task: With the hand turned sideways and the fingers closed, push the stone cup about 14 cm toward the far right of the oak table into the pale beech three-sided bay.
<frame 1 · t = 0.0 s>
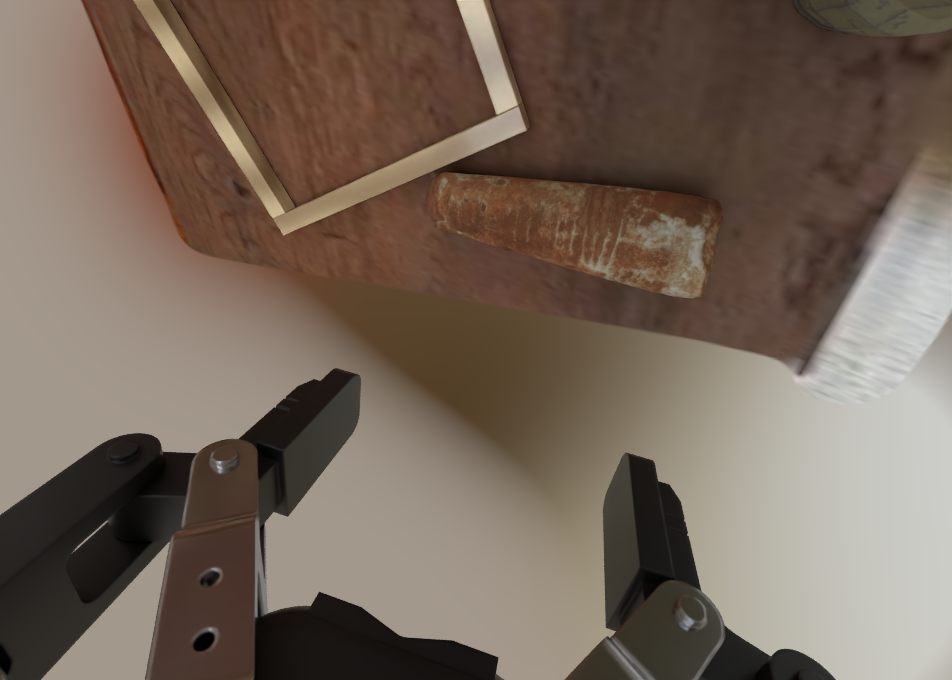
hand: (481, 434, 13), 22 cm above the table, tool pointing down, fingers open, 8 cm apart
rusty brown cylinder: (562, 219, 31), on the table
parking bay: (315, 21, 28), on the table
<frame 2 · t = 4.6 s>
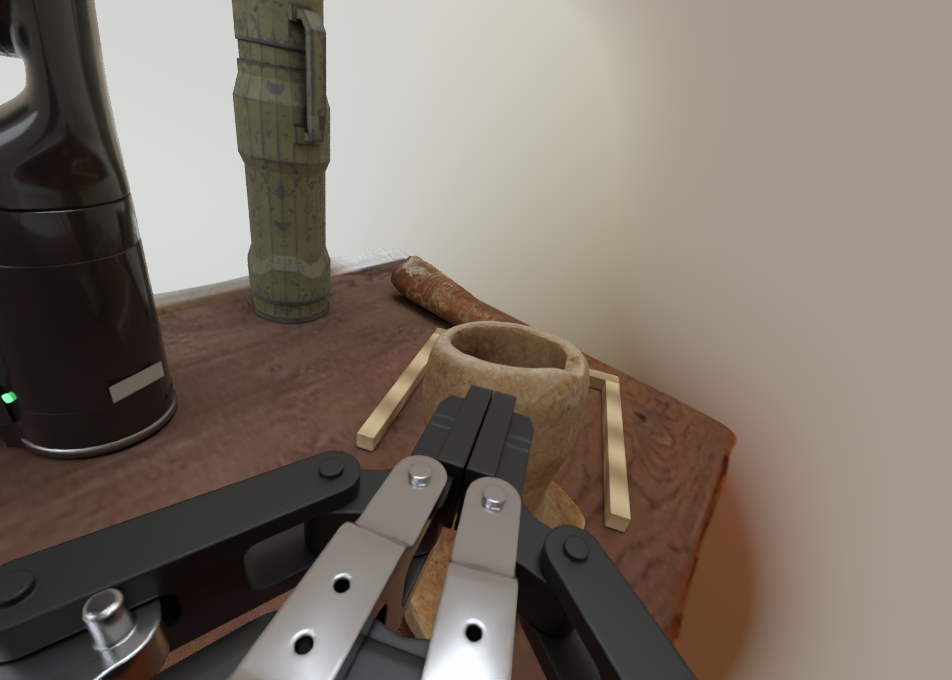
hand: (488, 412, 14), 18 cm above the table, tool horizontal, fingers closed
rusty brown cylinder: (450, 318, 59), on the table
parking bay: (506, 416, 42), on the table
thermos: (292, 308, 54), on the table
stone cup: (469, 536, 30), on the table
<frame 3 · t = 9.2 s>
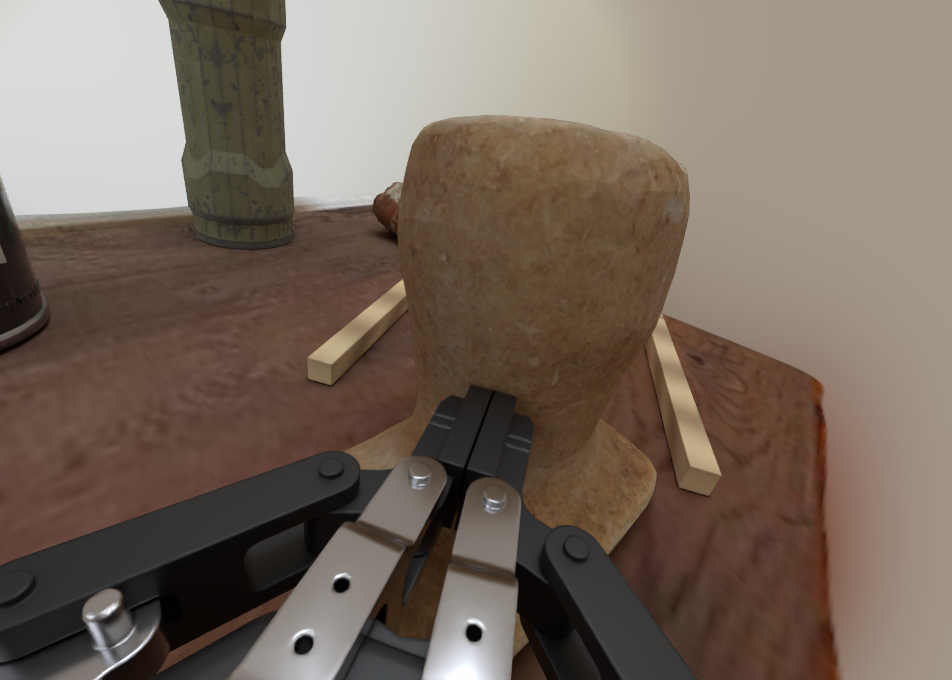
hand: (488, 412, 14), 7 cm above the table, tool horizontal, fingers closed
rusty brown cylinder: (446, 255, 48), on the table
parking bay: (521, 351, 31), on the table
thermos: (246, 236, 43), on the table
stone cup: (476, 493, 19), on the table, touching gripper
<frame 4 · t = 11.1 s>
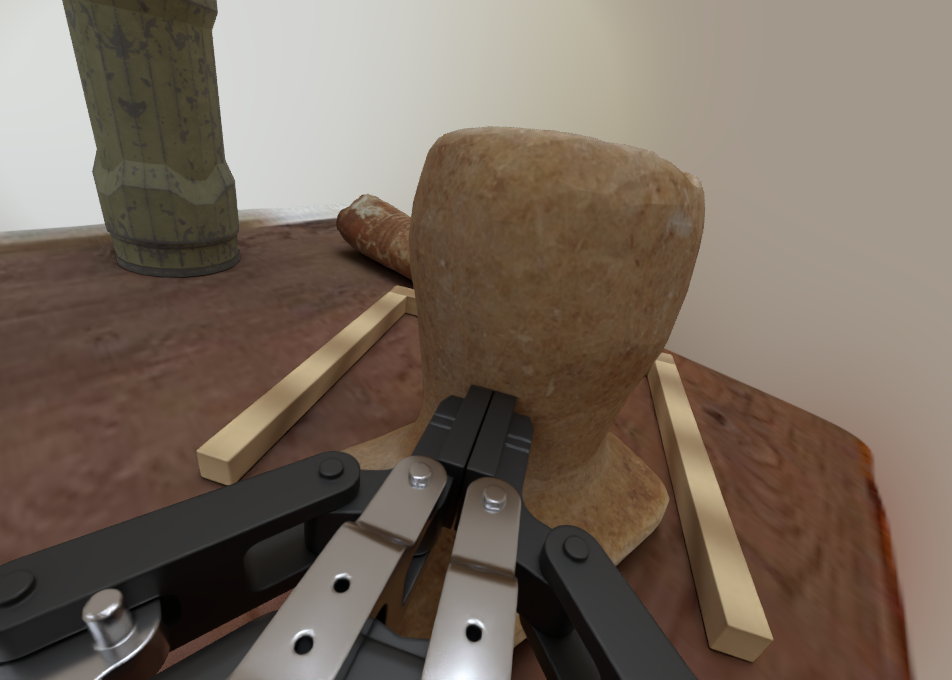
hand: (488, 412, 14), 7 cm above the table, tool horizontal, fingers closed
rusty brown cylinder: (420, 279, 41), on the table
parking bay: (498, 416, 25), on the table
thermos: (181, 259, 36), on the table
stone cup: (480, 500, 19), on the table, touching gripper
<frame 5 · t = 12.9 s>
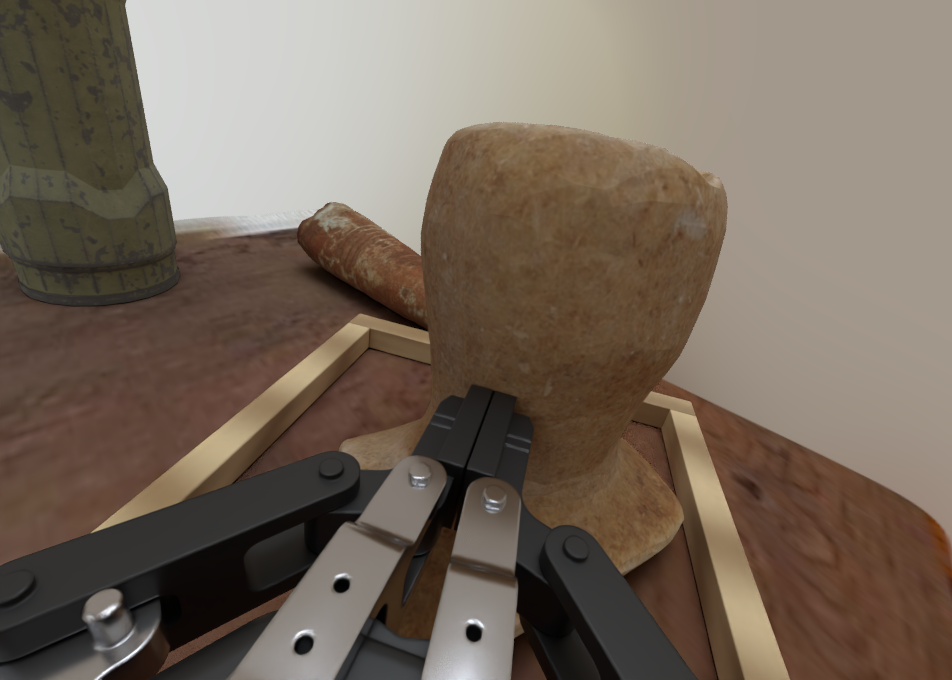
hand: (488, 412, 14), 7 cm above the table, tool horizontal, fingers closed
rusty brown cylinder: (394, 301, 36), on the table
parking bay: (471, 500, 19), on the table
thermos: (106, 281, 31), on the table
stone cup: (486, 501, 19), on the table, touching gripper
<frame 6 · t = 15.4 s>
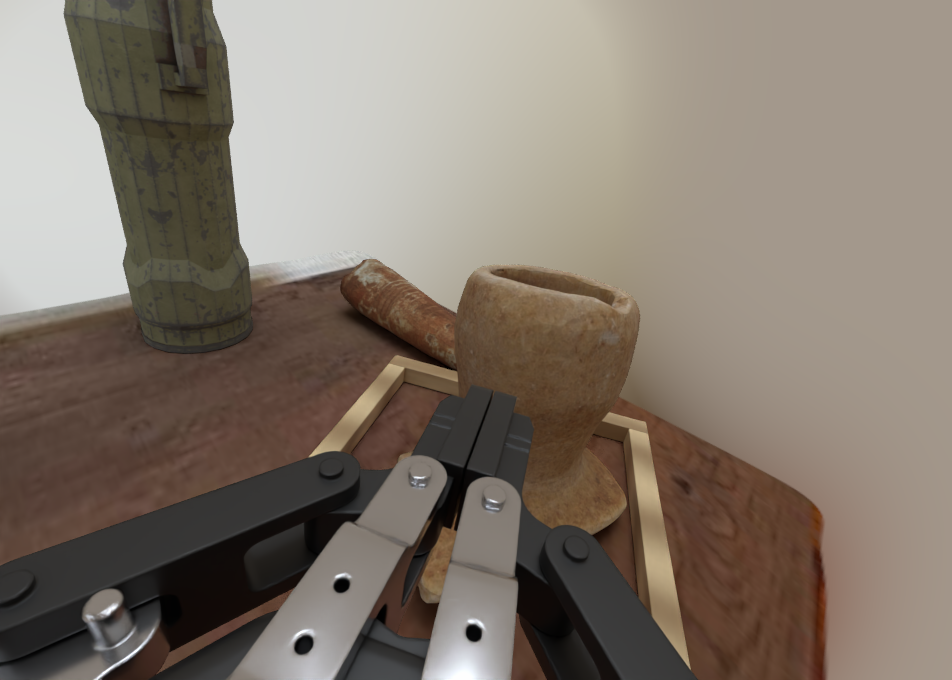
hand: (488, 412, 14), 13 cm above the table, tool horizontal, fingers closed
rusty brown cylinder: (418, 339, 45), on the table
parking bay: (485, 494, 28), on the table
thermos: (200, 330, 40), on the table
stone cup: (495, 495, 28), on the table
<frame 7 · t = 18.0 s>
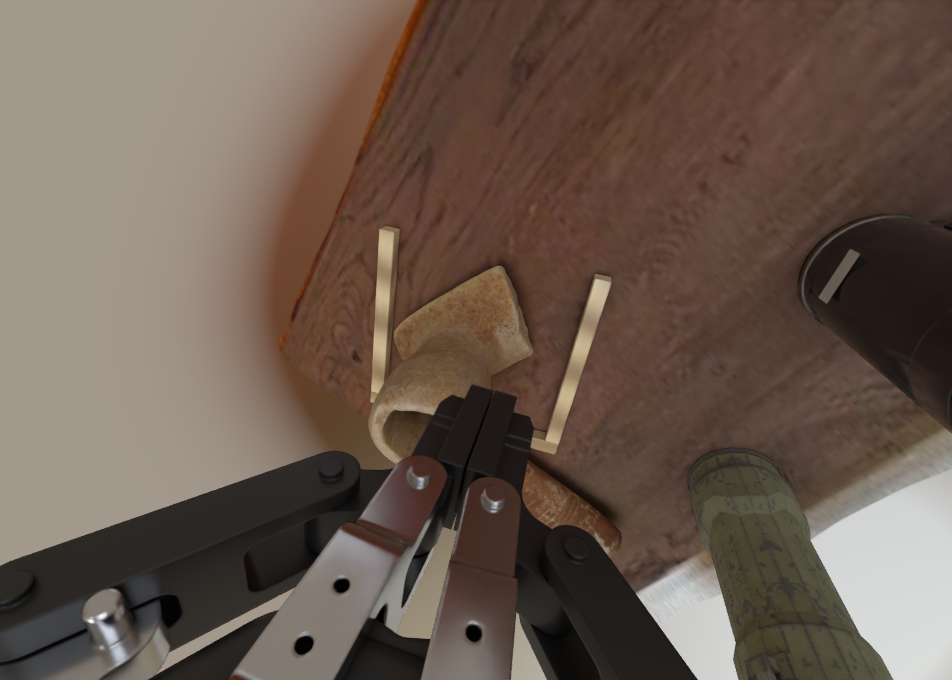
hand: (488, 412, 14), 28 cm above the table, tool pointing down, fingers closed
rusty brown cylinder: (543, 485, 52), on the table
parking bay: (478, 337, 45), on the table
thermos: (732, 479, 46), on the table
stone cup: (472, 338, 46), on the table
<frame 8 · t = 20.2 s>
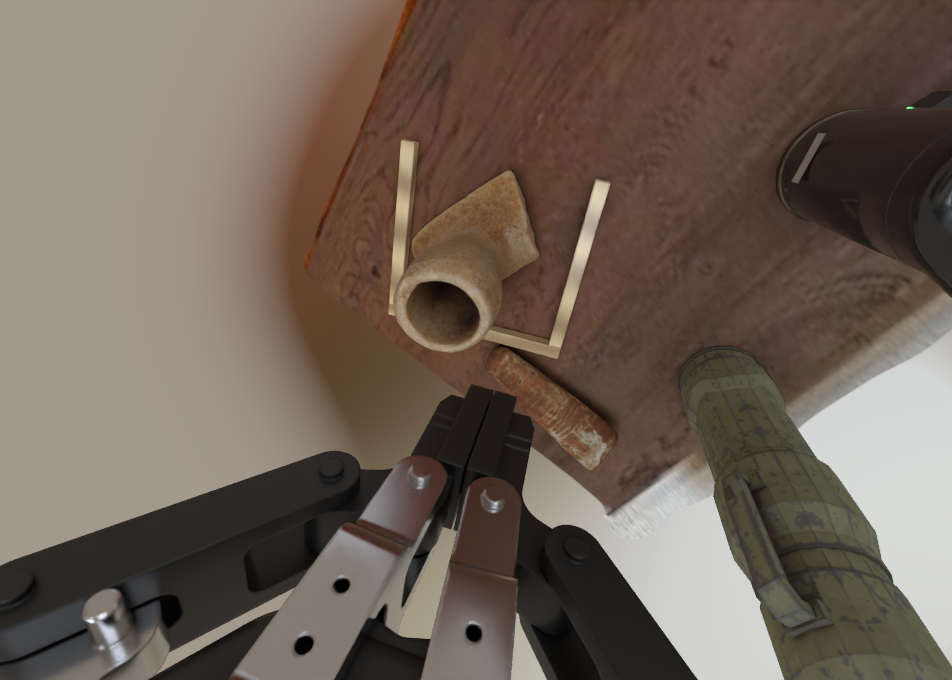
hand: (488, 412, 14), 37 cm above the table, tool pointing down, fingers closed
rusty brown cylinder: (546, 394, 57), on the table
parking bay: (488, 247, 50), on the table
thermos: (718, 378, 50), on the table
stone cup: (483, 248, 50), on the table
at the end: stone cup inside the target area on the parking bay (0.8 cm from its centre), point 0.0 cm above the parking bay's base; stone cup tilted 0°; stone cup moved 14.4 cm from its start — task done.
